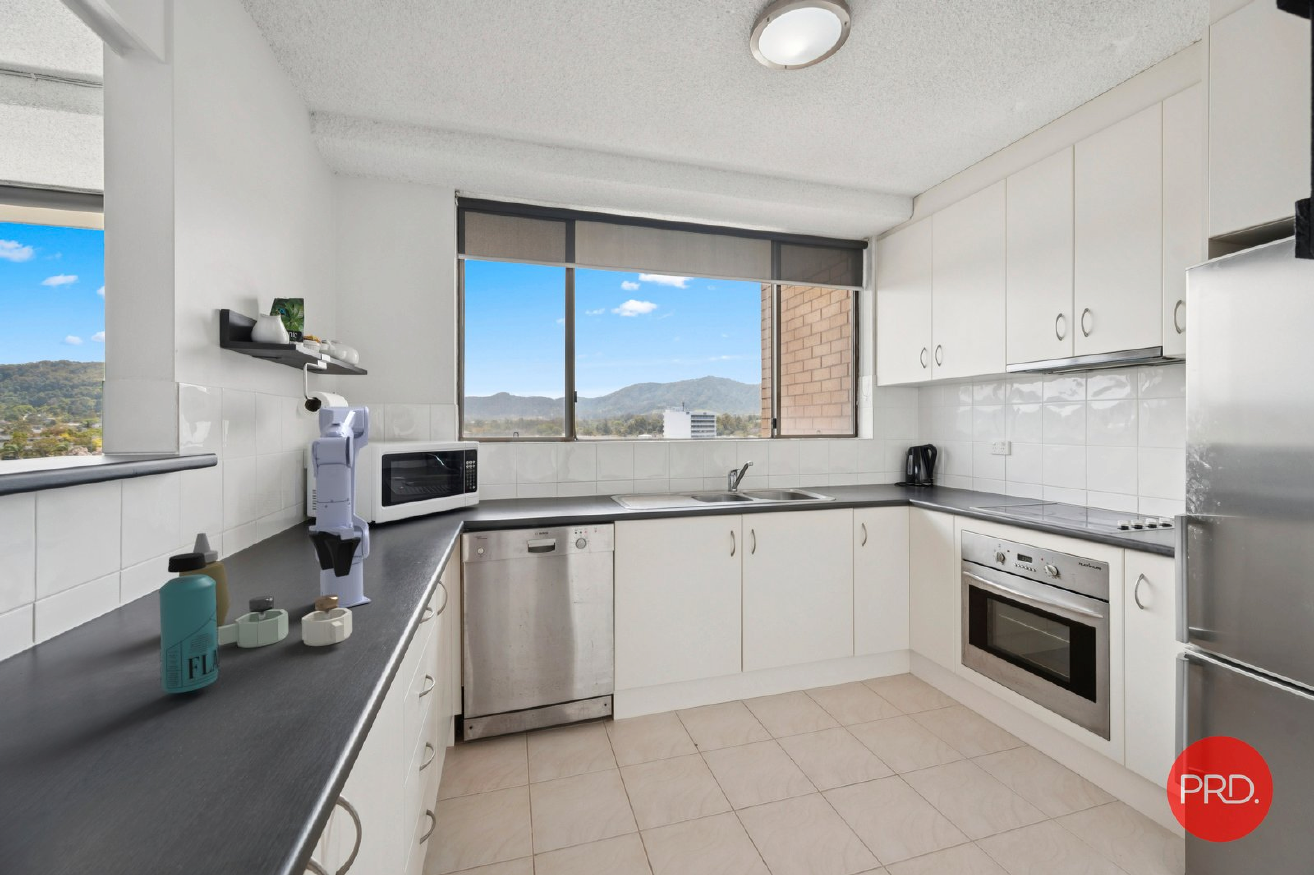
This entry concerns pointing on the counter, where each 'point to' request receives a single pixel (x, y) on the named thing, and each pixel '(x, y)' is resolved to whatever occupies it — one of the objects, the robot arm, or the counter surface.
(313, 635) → the cream press pot
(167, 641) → the beverage bottle
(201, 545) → the squeeze bottle
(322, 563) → the robot arm
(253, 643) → the sage press pot
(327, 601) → the cream press plunger
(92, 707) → the counter surface
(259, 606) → the sage press plunger
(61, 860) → the counter surface
